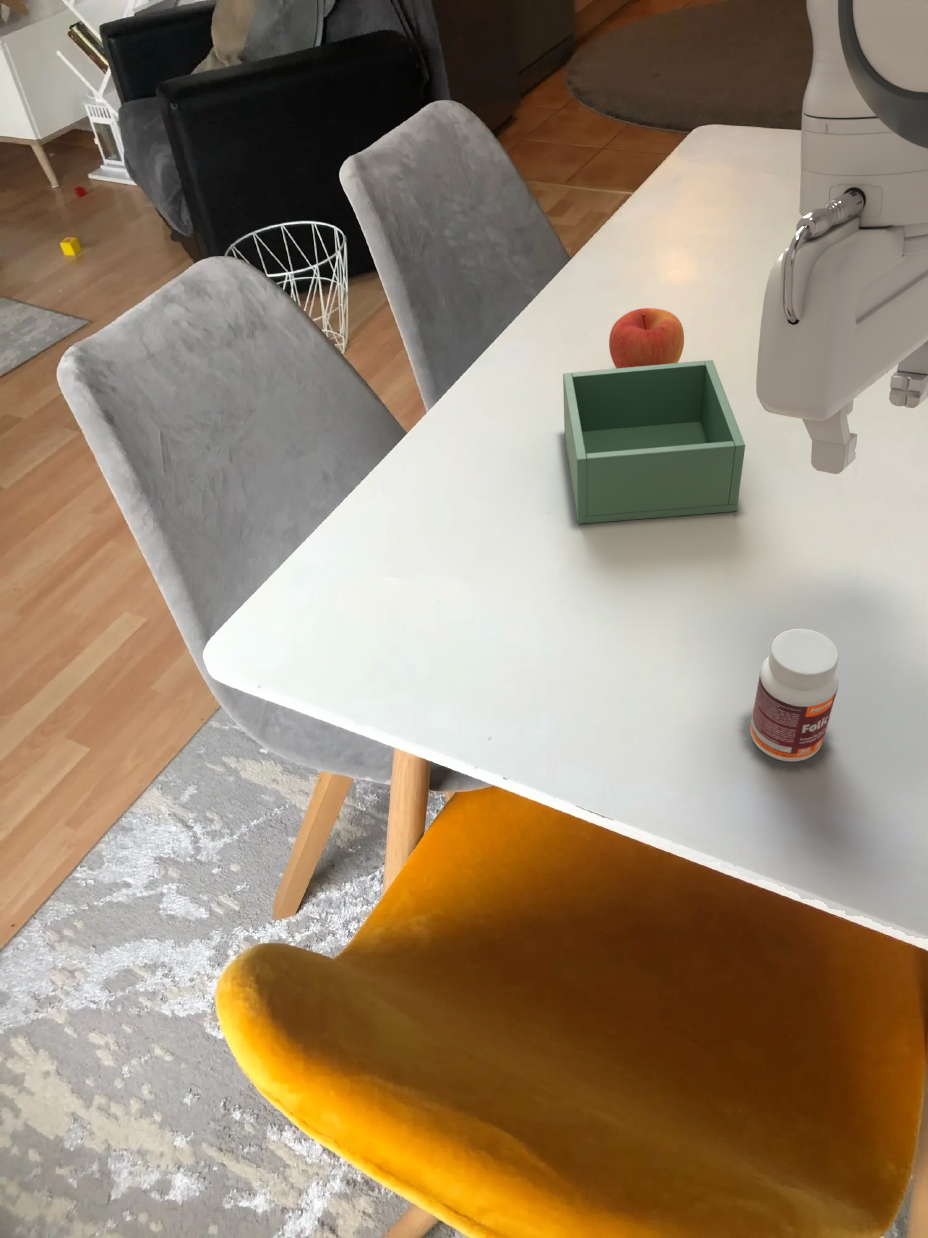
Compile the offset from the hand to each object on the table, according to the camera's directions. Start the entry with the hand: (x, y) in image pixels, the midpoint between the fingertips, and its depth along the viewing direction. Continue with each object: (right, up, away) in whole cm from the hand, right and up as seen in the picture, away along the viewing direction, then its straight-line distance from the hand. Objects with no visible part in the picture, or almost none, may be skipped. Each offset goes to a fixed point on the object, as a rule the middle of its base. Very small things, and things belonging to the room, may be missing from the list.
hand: (872, 433), depth 54 cm
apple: (-4, +14, +45) cm, 47 cm away
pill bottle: (-1, -18, +11) cm, 22 cm away
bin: (-6, +3, +34) cm, 34 cm away
